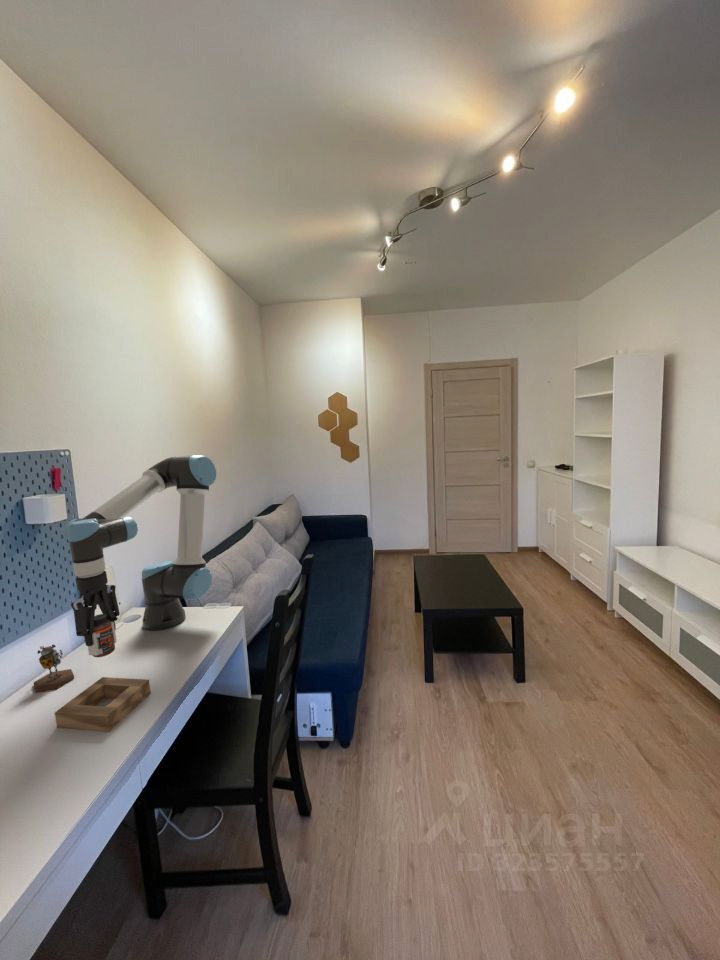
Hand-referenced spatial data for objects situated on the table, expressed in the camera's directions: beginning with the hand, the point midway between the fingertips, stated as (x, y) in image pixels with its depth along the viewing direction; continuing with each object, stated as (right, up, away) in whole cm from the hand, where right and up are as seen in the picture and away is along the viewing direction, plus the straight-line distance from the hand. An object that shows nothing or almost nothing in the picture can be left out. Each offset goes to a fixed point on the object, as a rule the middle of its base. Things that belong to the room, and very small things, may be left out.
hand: (103, 648), depth 122 cm
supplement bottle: (0, -2, 0) cm, 2 cm away
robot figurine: (-16, -11, +2) cm, 19 cm away
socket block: (+9, -11, -13) cm, 19 cm away
